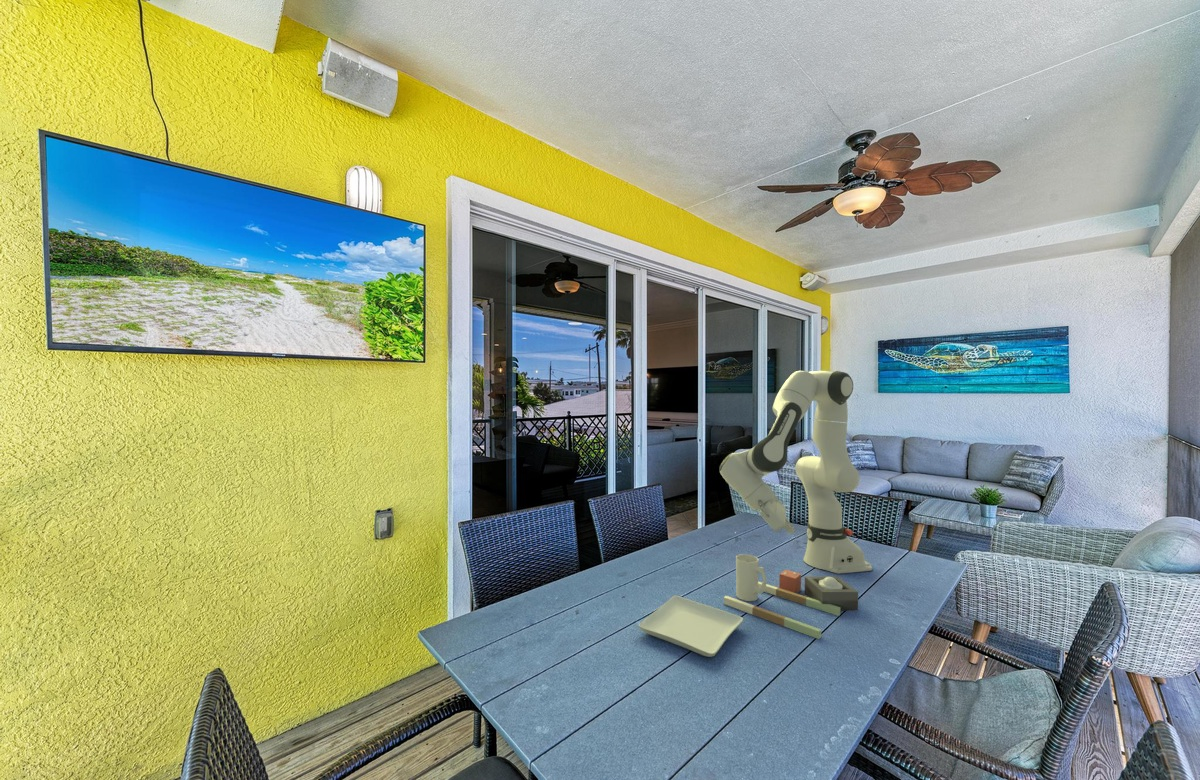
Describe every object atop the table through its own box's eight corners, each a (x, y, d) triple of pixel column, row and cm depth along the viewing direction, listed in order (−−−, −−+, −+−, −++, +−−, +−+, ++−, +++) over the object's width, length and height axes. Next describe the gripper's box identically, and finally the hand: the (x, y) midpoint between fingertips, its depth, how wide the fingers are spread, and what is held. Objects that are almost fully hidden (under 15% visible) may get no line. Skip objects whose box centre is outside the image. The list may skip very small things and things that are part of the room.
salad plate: (713, 668, 104) (714, 653, 104) (636, 637, 117) (636, 624, 117) (745, 629, 121) (745, 616, 121) (674, 605, 134) (674, 594, 134)
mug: (730, 595, 140) (731, 557, 140) (744, 589, 144) (744, 552, 144) (758, 608, 132) (759, 567, 132) (772, 602, 136) (772, 562, 136)
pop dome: (835, 587, 140) (835, 572, 140) (846, 596, 133) (847, 581, 133) (814, 587, 139) (814, 572, 139) (825, 596, 133) (825, 581, 133)
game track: (723, 603, 135) (723, 597, 135) (750, 585, 148) (750, 579, 148) (819, 639, 116) (819, 631, 116) (840, 614, 129) (840, 607, 129)
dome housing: (837, 593, 142) (838, 576, 142) (857, 610, 131) (858, 591, 131) (804, 594, 141) (804, 576, 141) (822, 610, 131) (822, 591, 131)
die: (779, 589, 145) (779, 572, 144) (785, 584, 148) (785, 568, 148) (795, 594, 141) (795, 577, 141) (801, 589, 145) (801, 572, 145)
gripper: (765, 498, 134) (801, 535, 130) (769, 485, 153) (800, 517, 149) (749, 512, 136) (784, 549, 132) (755, 496, 154) (785, 528, 151)
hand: (792, 532), depth 140 cm, fingers closed
